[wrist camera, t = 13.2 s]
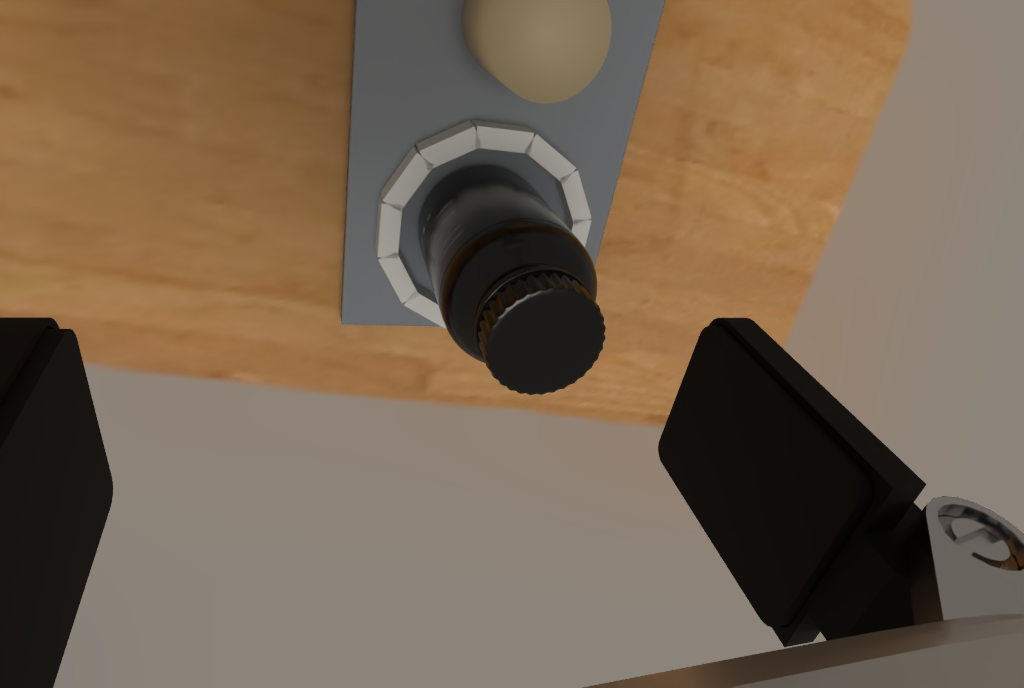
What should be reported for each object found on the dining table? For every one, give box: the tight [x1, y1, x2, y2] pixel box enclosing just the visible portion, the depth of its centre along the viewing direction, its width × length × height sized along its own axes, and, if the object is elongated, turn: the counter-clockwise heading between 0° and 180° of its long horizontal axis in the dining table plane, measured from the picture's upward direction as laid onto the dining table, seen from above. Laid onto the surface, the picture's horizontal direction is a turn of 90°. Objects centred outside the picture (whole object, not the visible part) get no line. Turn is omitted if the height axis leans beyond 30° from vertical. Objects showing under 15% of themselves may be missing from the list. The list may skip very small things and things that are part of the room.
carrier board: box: [341, 0, 665, 329], centre depth 29 cm, size 22×14×6 cm, turn 170°
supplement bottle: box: [418, 166, 606, 395], centre depth 28 cm, size 7×7×12 cm
